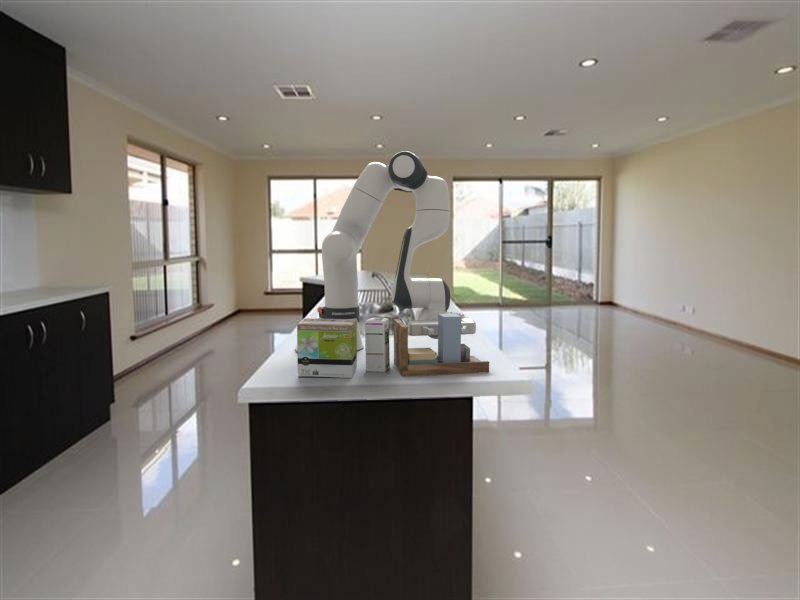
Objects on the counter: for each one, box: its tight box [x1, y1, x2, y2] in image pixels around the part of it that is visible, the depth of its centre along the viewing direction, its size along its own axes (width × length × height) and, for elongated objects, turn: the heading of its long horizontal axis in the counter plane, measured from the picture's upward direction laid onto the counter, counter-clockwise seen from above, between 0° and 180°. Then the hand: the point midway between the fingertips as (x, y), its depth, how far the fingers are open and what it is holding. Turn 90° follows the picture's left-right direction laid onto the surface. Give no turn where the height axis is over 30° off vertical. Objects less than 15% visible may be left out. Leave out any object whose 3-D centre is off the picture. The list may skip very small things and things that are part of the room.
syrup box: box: [364, 317, 391, 373], centre depth 151 cm, size 6×6×14 cm
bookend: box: [461, 343, 481, 362], centre depth 153 cm, size 6×5×5 cm
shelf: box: [393, 318, 490, 377], centre depth 152 cm, size 14×24×14 cm, turn 100°
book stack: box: [408, 347, 438, 364], centre depth 152 cm, size 8×8×4 cm
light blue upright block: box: [437, 312, 462, 363], centre depth 151 cm, size 5×6×14 cm
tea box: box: [296, 317, 358, 379], centre depth 147 cm, size 15×10×15 cm
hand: (447, 332), depth 152 cm, fingers open, 8 cm apart
